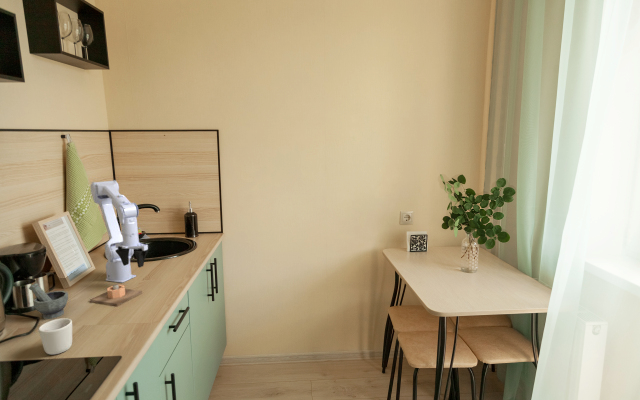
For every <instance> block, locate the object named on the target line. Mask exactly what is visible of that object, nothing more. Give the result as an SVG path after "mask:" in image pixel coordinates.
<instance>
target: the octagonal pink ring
mask: <svg viewBox="0 0 640 400" xmlns="http://www.w3.org/2000/svg"><path fill="white" fill-rule="evenodd" d="M118 285H119V289H116V290H113V285H111V286H109V287H107V291H106V292H107V293H108V298H119V297H122V296H124V295H125V289H126V288H125V285H124V284H118Z"/></svg>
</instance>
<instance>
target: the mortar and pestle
mask: <svg viewBox="0 0 640 400" xmlns="http://www.w3.org/2000/svg"><path fill="white" fill-rule="evenodd" d="M28 289H29V290H30V291H31V292H32V293H33V294H34V296H35V298H34V299H33V305H34V306H33V307H34V309H35V310H36V311H37V312H38V313H41V314H42V319H44V320H54V319H58V318H60V317H62V316H63V315H64V314H65V310H64V309H65V308H66V305H67V303H68V301H69V292H68V291H65V290H56V291H55V290H54V291H49V292H45V291H44V290H43V289H42V288H41V287H40V284H39V283H38V282H35V283H32V284H31V285H30V286H29V287H28Z"/></svg>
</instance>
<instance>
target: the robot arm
mask: <svg viewBox="0 0 640 400" xmlns="http://www.w3.org/2000/svg"><path fill="white" fill-rule="evenodd" d="M90 194H91V196H92V197H91V198H92V200H93V202H94V203H95V204H97V205H99V208H100V211H101V214H102V217H103V221H104V225H105V227H106V231H107V234H108V237H109V239H108V240H107V241H106V242H105V244H104V252H105V257H106V259H107V261H106V263H105V271H106V279H105V281H107V282H108V281H109V282H112V283H113V282H115V283H124V282H127V281H129V280H132V279H133V278H135V277H137V275H136V274H132V267H131V259H132V256H133V255H134V256H135V259H136V263H137V267H138V268H139V269H140V268H142V267H144V265H145V259H146V256H147V255H148V252H149V245H148V244H144V243H141V242H140V239H139V228H138V217H139V213H140V212H139V211H140V210H139V207H138V205H137V204H136V202H131V201H130V200H129V199H128V198H127V196H125V195H123V194H121V193H120V186H119V183H118V182H117V180H116V179H114V180H106V181H104V180H103V181H96V182H95V181H92V182H91V183H90ZM114 208H115V209H114ZM115 210H116V211H115ZM115 212H117V216H118V217H117V216H116V213H115ZM118 219H119V223H118ZM119 224H120V225H121V226H120V225H119ZM120 227H121V230H120ZM134 250H135V251H134Z"/></svg>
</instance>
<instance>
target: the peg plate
mask: <svg viewBox="0 0 640 400" xmlns="http://www.w3.org/2000/svg"><path fill="white" fill-rule="evenodd" d="M119 285H120V284H117V283H115V284H113V285H112V286H113V290H116V289H119ZM141 294H143V291H142V290H138V289H130V288H125V295H124V296H122V297H119V298H108V293H107V291H105V292H103V293H101V294H98V295H96V296H94V297H93V298H91V299H89V301H90V303H96V304H99V305H106V306H112V307H113V306H114V307H119V306H121V305H123V304H125V303H127V302H128V301H130V300H132V299H134V298H136V297H138V296H140V295H141Z"/></svg>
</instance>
